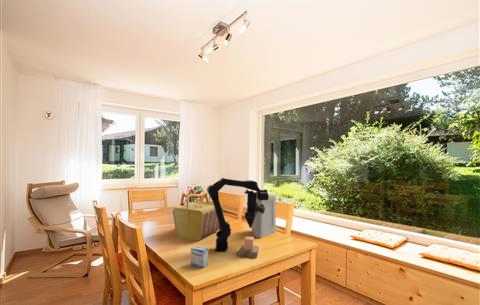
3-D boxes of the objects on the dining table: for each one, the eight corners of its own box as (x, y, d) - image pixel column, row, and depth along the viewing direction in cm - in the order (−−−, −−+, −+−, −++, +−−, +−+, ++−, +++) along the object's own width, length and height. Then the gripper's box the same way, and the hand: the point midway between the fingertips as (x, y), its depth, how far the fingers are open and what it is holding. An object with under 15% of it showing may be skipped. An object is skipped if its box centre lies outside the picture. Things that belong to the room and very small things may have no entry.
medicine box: (190, 265, 119) (190, 248, 119) (194, 262, 123) (195, 245, 124) (203, 268, 116) (204, 250, 117) (208, 264, 120) (208, 247, 121)
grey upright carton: (260, 228, 188) (260, 193, 189) (275, 232, 178) (276, 195, 179) (244, 233, 173) (245, 195, 174) (260, 238, 163) (261, 197, 164)
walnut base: (238, 256, 132) (239, 251, 132) (241, 249, 141) (241, 244, 142) (256, 257, 130) (256, 252, 130) (258, 251, 140) (258, 246, 140)
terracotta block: (244, 249, 134) (244, 239, 134) (245, 246, 139) (245, 236, 139) (252, 250, 133) (252, 239, 133) (253, 247, 138) (253, 236, 138)
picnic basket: (195, 227, 188) (196, 189, 190) (224, 231, 178) (224, 191, 179) (170, 237, 162) (171, 193, 163) (201, 243, 151) (202, 196, 152)
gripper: (263, 203, 137) (263, 231, 136) (265, 199, 155) (265, 222, 155) (244, 203, 139) (244, 229, 138) (248, 198, 157) (248, 221, 157)
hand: (251, 225), depth 147 cm, fingers open, 9 cm apart
